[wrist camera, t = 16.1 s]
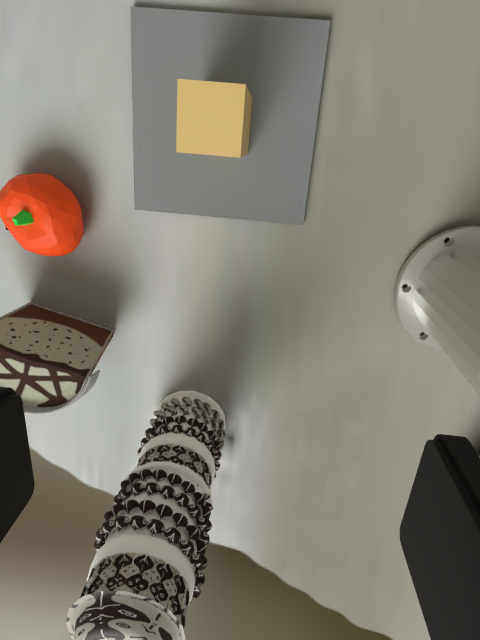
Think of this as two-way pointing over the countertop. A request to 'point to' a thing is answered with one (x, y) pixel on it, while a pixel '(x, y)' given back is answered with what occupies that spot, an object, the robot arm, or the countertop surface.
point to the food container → (49, 356)
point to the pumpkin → (41, 214)
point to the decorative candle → (155, 529)
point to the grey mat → (266, 114)
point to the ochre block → (213, 118)
